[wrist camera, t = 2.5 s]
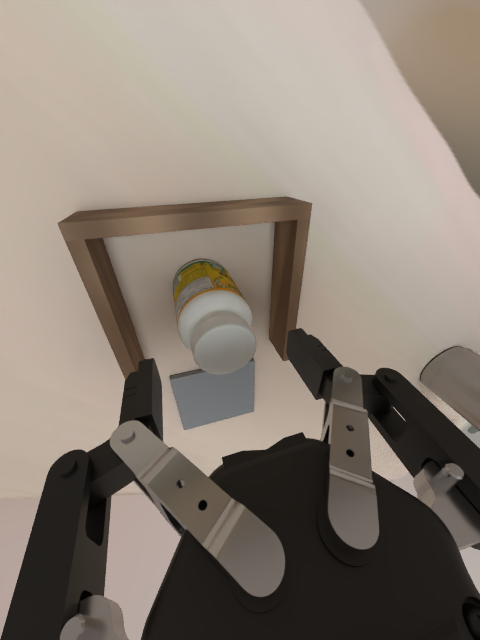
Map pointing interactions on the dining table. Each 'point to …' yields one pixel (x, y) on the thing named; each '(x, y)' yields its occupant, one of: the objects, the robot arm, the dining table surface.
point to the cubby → (94, 225)
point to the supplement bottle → (213, 317)
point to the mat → (213, 395)
